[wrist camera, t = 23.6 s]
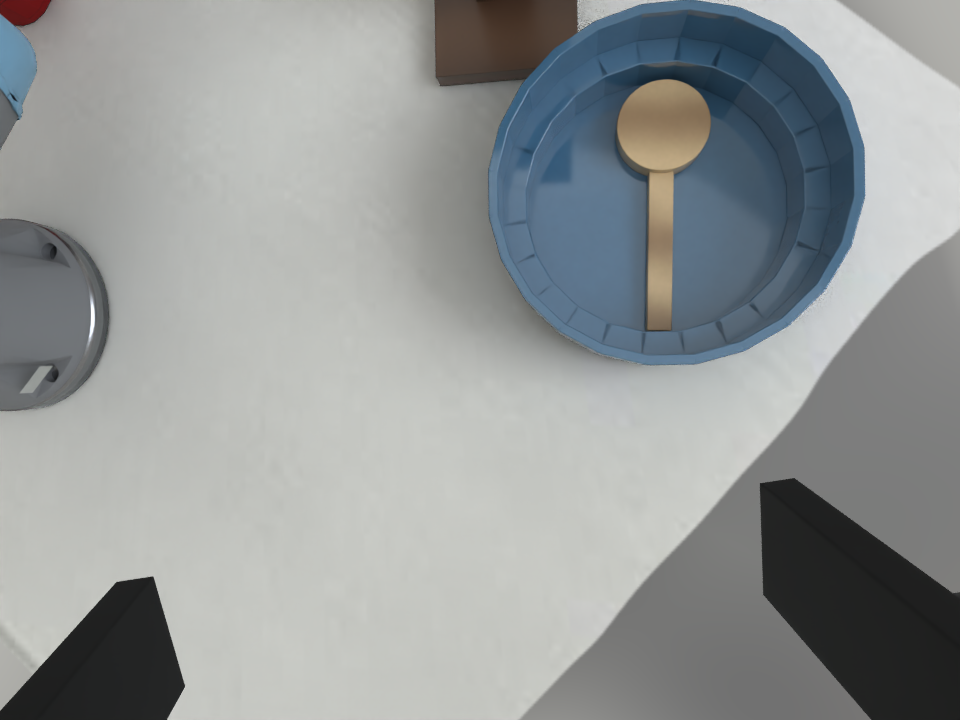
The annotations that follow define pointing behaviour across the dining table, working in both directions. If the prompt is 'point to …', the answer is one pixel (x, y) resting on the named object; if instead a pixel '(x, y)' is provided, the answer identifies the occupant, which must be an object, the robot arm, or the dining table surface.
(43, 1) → the plastic cup
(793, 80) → the bowl
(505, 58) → the stand
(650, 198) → the spoon
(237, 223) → the dining table surface
